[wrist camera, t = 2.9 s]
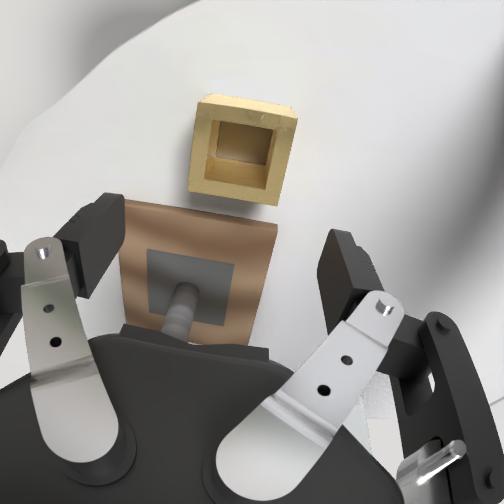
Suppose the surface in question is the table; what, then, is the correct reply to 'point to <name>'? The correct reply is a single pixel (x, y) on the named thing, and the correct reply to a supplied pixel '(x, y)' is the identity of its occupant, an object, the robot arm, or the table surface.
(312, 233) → the table surface
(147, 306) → the post stand
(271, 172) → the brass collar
